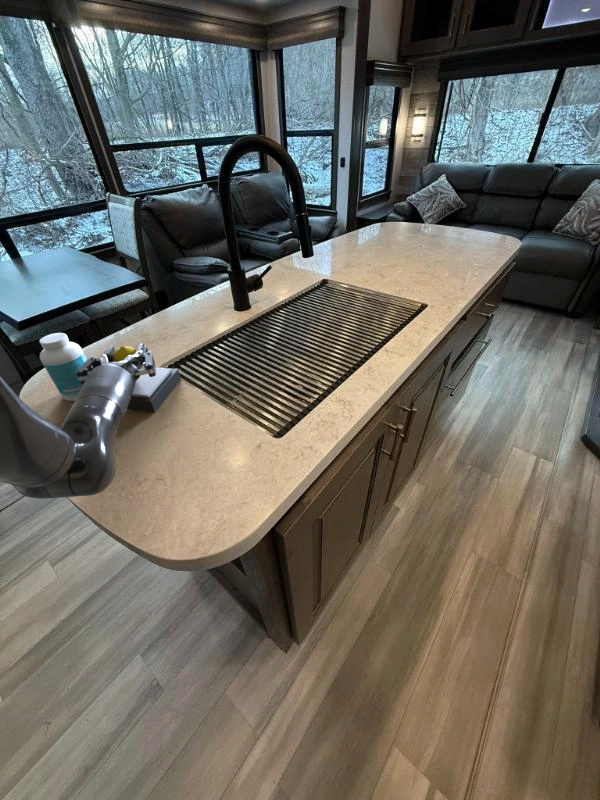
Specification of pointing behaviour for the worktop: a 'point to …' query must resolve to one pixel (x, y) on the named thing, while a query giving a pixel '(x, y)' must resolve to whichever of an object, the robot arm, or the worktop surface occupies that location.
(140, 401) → the scale
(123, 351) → the lemon
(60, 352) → the pill bottle
